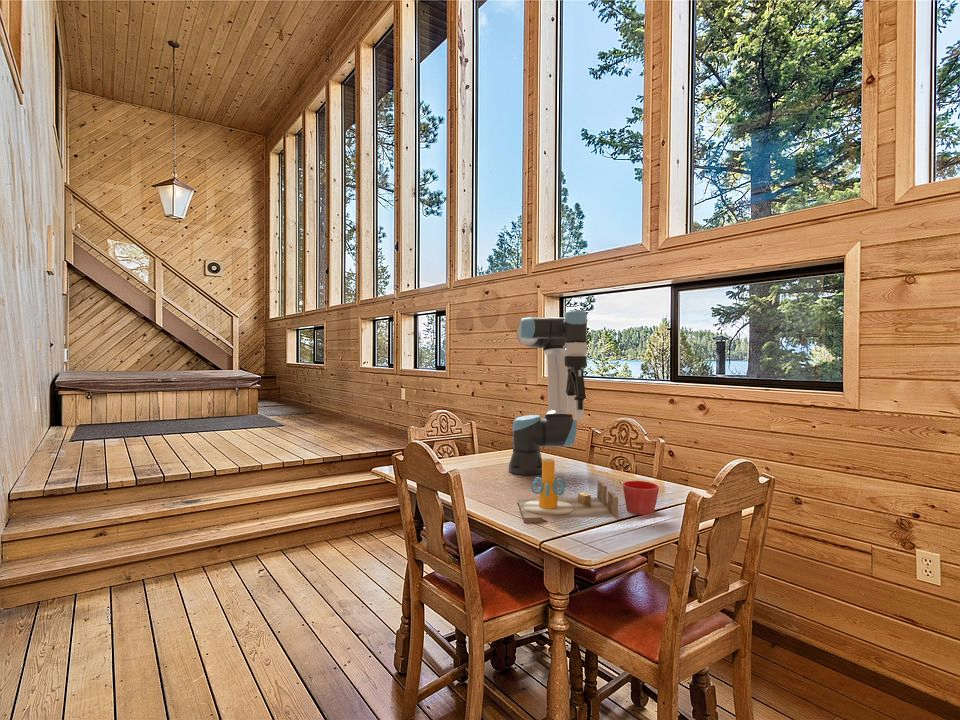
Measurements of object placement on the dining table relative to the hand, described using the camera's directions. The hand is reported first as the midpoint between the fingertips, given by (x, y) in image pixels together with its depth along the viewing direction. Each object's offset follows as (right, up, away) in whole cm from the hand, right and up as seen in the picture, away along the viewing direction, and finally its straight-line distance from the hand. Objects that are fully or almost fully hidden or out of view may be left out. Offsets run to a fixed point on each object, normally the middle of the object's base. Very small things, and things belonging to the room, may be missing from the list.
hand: (575, 416), depth 183 cm
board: (-6, -29, -13) cm, 32 cm away
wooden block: (+1, -28, -9) cm, 29 cm away
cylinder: (-11, -28, -13) cm, 33 cm away
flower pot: (+18, -30, -17) cm, 38 cm away
